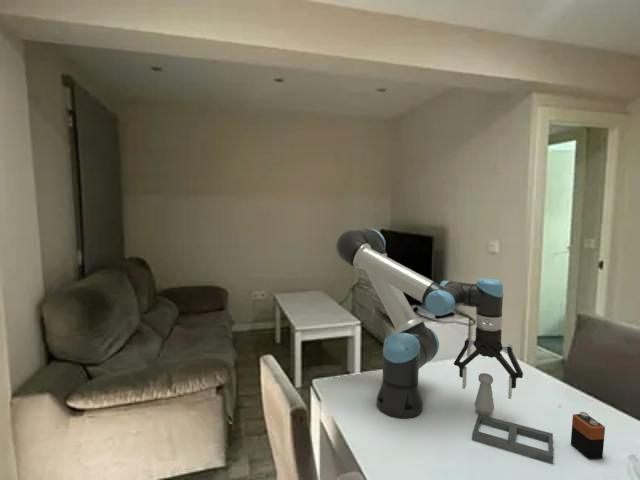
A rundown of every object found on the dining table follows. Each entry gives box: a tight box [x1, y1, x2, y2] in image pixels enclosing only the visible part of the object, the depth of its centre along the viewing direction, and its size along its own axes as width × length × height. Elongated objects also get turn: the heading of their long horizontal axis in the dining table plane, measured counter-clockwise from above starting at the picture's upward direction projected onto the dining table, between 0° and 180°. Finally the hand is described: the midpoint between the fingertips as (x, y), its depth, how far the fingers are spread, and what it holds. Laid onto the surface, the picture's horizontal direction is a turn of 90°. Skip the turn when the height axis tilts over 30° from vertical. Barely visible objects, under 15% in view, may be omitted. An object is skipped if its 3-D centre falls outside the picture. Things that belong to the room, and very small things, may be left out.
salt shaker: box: [474, 372, 495, 417], centre depth 124 cm, size 6×6×13 cm
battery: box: [570, 411, 606, 460], centre depth 106 cm, size 4×7×10 cm, turn 5°
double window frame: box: [471, 413, 554, 465], centre depth 111 cm, size 20×12×2 cm, turn 60°
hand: (486, 392), depth 124 cm, fingers open, 13 cm apart
